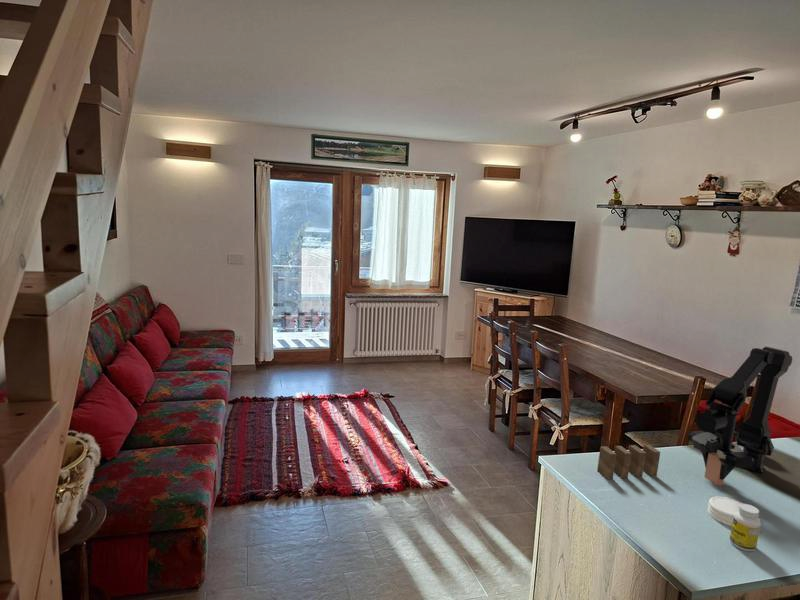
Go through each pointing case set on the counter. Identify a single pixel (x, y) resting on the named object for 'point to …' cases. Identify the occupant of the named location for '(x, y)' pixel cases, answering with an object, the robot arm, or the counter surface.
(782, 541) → the counter surface
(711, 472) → the terracotta domino
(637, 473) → the walnut domino
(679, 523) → the counter surface
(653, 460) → the walnut domino
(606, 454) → the walnut domino
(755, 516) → the supplement bottle
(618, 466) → the walnut domino
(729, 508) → the white rounded piece
